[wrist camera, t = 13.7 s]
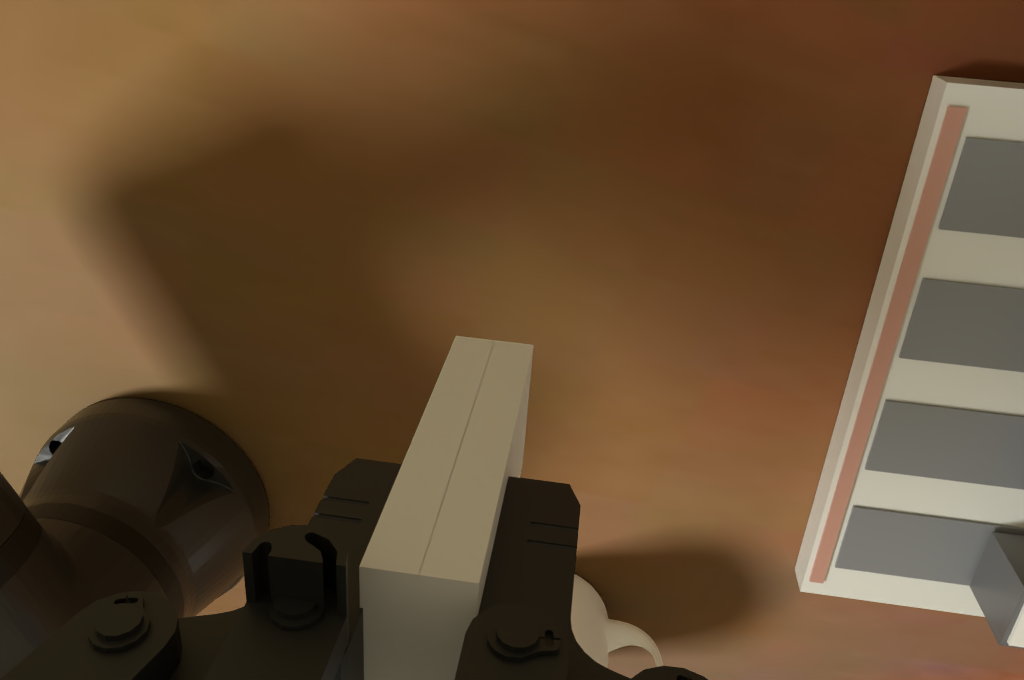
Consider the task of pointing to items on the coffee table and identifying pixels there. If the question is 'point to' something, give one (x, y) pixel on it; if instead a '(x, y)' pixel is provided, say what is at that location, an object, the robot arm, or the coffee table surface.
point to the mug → (603, 627)
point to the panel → (934, 372)
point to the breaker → (1002, 587)
